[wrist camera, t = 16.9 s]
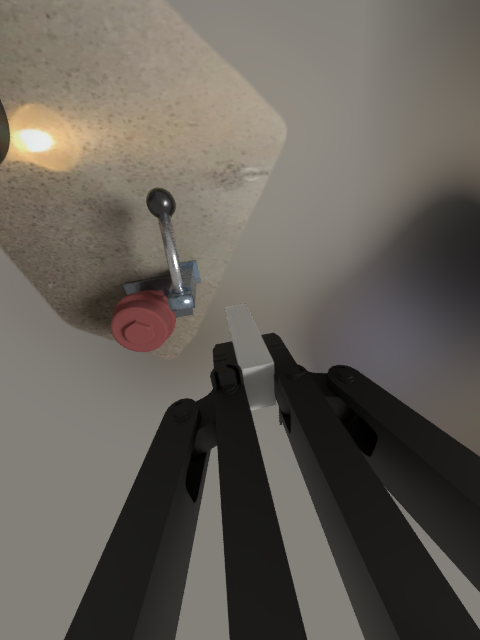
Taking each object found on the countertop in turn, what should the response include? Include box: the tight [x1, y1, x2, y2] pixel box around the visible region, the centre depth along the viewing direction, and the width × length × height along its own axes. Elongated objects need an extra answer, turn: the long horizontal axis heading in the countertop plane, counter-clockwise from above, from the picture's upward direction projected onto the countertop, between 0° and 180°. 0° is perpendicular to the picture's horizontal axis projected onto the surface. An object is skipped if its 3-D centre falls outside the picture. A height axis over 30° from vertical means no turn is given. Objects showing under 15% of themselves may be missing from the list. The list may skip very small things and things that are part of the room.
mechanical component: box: [111, 290, 176, 352], centre depth 36 cm, size 12×10×10 cm
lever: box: [146, 188, 195, 312], centre depth 27 cm, size 16×4×4 cm, turn 7°
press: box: [123, 260, 201, 317], centre depth 36 cm, size 11×15×14 cm
